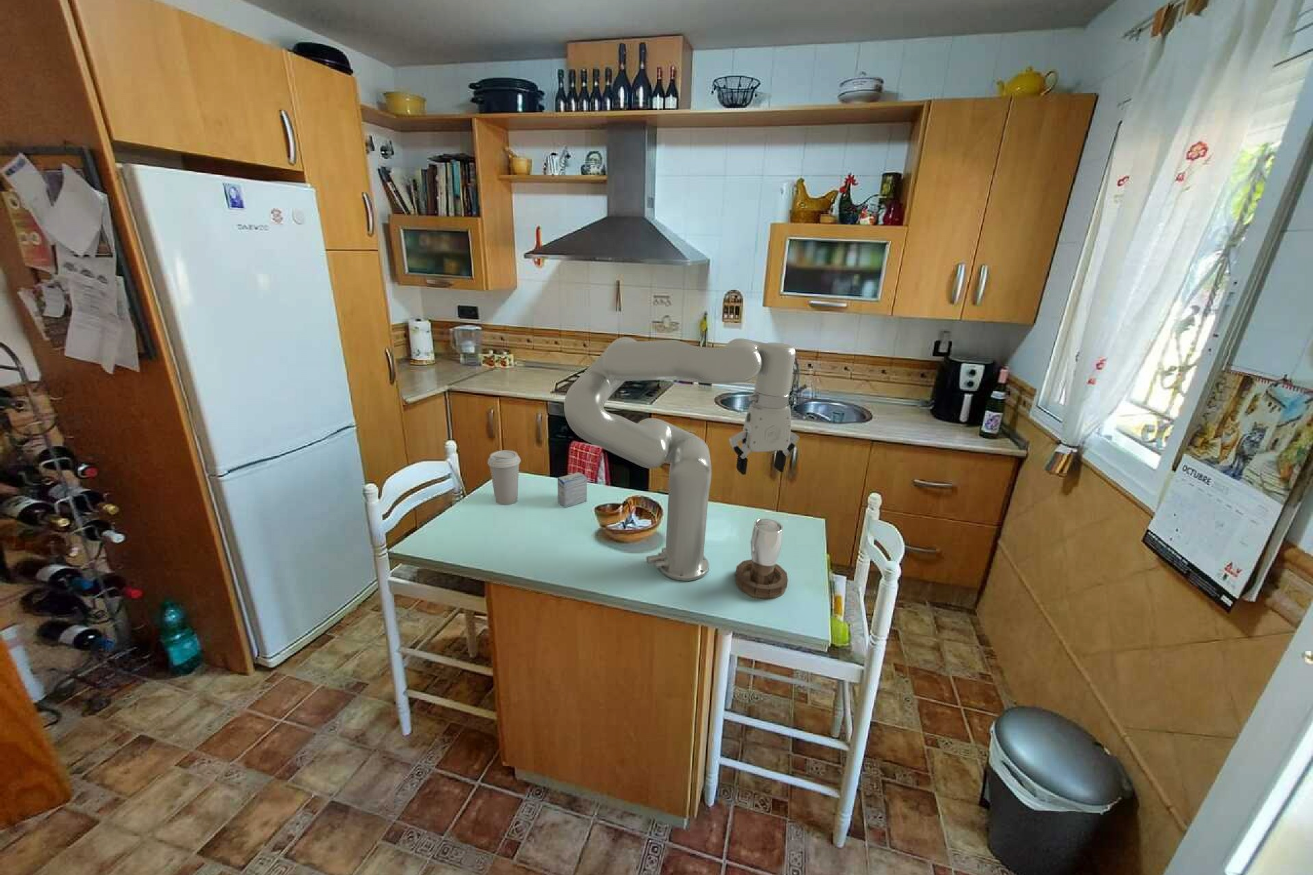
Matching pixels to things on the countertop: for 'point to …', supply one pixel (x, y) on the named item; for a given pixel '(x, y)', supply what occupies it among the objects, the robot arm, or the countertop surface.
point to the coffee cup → (505, 476)
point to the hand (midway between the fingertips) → (760, 471)
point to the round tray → (758, 589)
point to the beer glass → (765, 550)
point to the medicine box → (572, 489)
